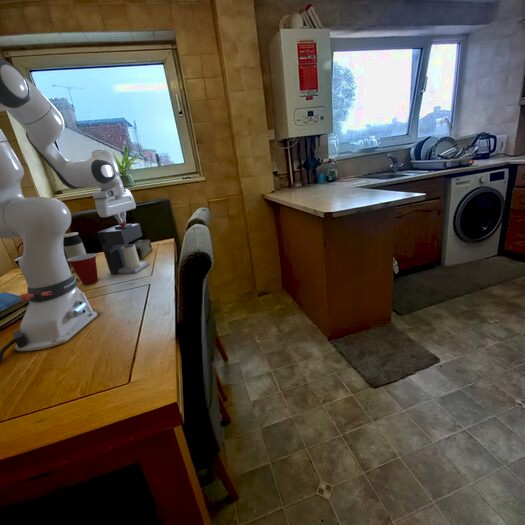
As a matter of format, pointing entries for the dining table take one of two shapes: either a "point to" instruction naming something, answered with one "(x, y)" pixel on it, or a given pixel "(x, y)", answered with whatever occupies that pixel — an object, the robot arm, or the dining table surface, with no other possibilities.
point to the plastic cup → (85, 267)
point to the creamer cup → (130, 256)
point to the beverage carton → (142, 247)
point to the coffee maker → (119, 246)
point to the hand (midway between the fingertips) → (122, 222)
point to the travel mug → (73, 245)
